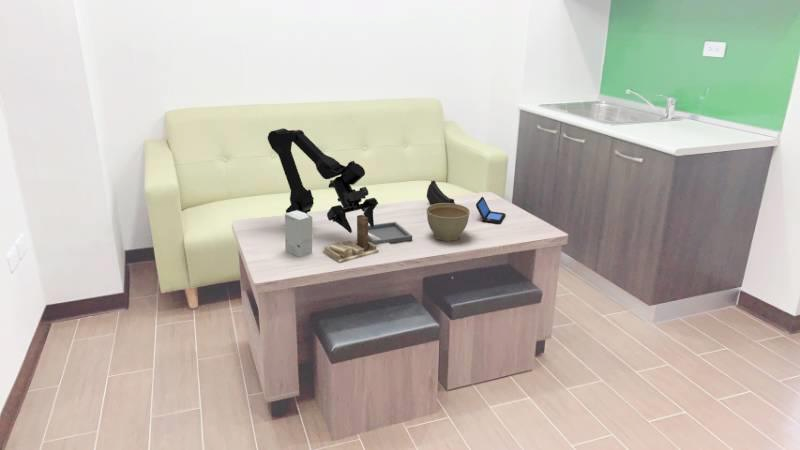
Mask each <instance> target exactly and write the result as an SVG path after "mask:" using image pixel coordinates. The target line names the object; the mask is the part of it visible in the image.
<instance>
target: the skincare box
mask: <svg viewBox="0 0 800 450" xmlns="http://www.w3.org/2000/svg"><path fill="white" fill-rule="evenodd" d="M284 219H285V221H284V222H285V223H284V224H285V225H284V226H285V227H284V228H285V229H284V234H285V235H284V238H285V239H284V241H285V242H284V243H285V244H284V245H285V249H284V250H285V252H286V253H288V254H291V255H293V256H295V257H297V258H302V257H305V256H308V255H311V254H312V253H313V215H311V214H309V213H307V214H306V213H304V212H300V211H298V210H296V211H293V212H289V213H286V212H285V213H284Z"/></svg>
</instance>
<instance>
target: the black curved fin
mask: <svg viewBox="0 0 800 450" xmlns="http://www.w3.org/2000/svg"><path fill="white" fill-rule="evenodd" d="M436 182H437V181H436V180H431V181H430V184H429V185H428V188H427V192H426V199H427V201H428V202H429V204H430V206H431V205H434V204H439V203H452V204H456V203H455V199H454V198H449V196H447V195H446V194H445V193H444V192H443V191H442V190H441V189H440V187H439V186H438V184H437V183H436Z"/></svg>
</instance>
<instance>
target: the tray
mask: <svg viewBox="0 0 800 450" xmlns="http://www.w3.org/2000/svg"><path fill="white" fill-rule="evenodd" d="M369 234H371V235H372V236H375V237H376V238H378V239H375V240H374V239H373V238H372V236H370V235H369ZM368 241H369V242H371V243H372V244H374V245H380V244H386V243H387V244H389V245H393V244H399V243H400V244H401V243H406V242H407V243H408V242H412V241H413V235H412V234H411V233H410V232H408V231H407V230H406V229H405V228H404V227H402V225H400V224H399V223H398V222H397V221H394V222H393V221H391V222H382V223H374V227H371V226H370V224H368Z"/></svg>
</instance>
